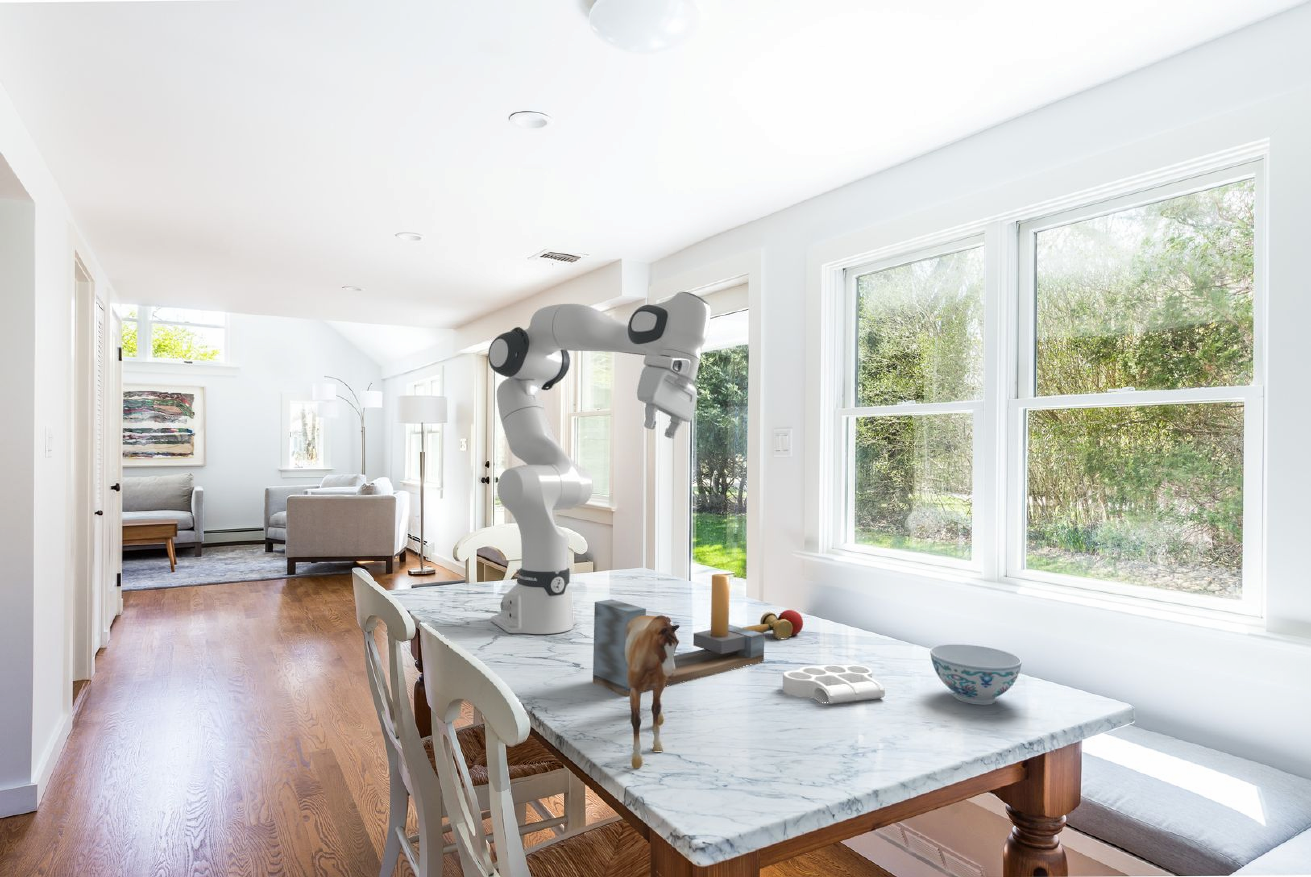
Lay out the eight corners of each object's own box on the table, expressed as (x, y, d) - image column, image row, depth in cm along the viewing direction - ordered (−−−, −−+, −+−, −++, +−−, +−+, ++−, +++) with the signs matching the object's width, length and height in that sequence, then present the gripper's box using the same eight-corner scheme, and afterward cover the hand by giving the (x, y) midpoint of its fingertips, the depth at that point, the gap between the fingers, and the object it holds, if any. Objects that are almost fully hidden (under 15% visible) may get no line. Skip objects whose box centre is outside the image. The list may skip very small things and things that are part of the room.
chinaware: (974, 682, 143) (975, 641, 143) (1041, 708, 129) (1041, 663, 129) (911, 689, 137) (912, 647, 137) (973, 717, 123) (974, 670, 123)
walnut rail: (590, 682, 137) (592, 602, 138) (728, 651, 161) (729, 582, 161) (627, 698, 129) (629, 612, 129) (767, 662, 153) (768, 590, 153)
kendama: (750, 652, 166) (813, 633, 175) (744, 623, 167) (807, 606, 175) (731, 650, 173) (793, 631, 182) (726, 622, 174) (787, 605, 182)
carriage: (693, 645, 153) (694, 574, 153) (717, 640, 157) (718, 571, 158) (721, 654, 147) (722, 580, 147) (745, 648, 151) (746, 576, 152)
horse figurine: (676, 783, 97) (679, 623, 97) (616, 781, 97) (620, 621, 97) (673, 702, 128) (675, 581, 128) (627, 701, 128) (630, 580, 128)
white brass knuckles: (812, 711, 126) (769, 685, 139) (899, 701, 132) (850, 677, 146) (812, 691, 126) (769, 667, 139) (900, 681, 132) (850, 659, 146)
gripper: (683, 380, 166) (667, 440, 165) (640, 353, 148) (622, 420, 147) (708, 384, 163) (693, 445, 162) (668, 357, 145) (650, 425, 144)
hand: (659, 433), depth 154 cm, fingers open, 8 cm apart
